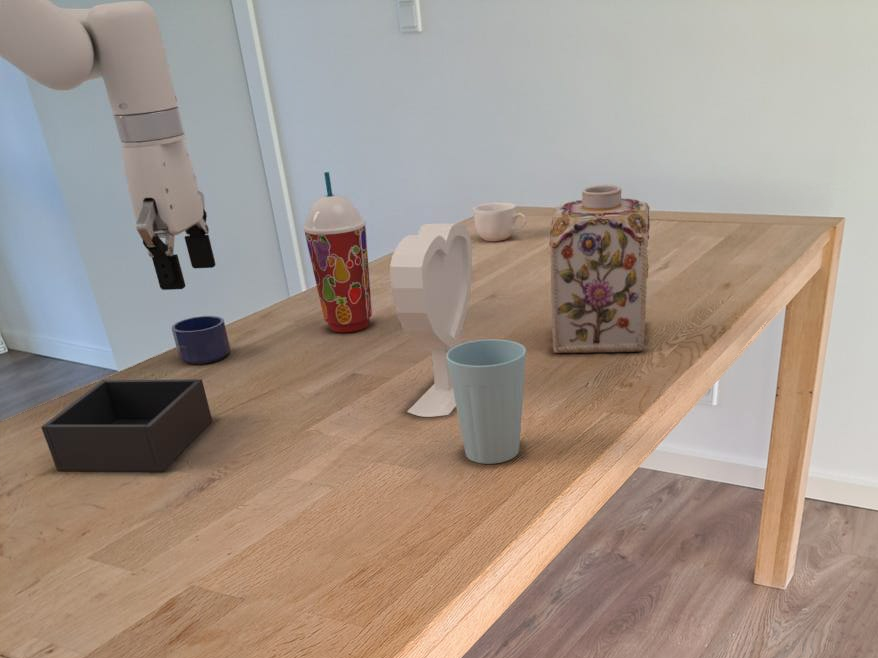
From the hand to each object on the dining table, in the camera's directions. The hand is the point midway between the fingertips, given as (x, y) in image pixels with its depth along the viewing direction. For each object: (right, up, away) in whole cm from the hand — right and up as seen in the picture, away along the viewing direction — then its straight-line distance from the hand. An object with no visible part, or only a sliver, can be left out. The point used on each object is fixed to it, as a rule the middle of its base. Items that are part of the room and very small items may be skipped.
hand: (189, 277), depth 119 cm
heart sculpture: (+34, -18, -11) cm, 40 cm away
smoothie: (+19, -2, +13) cm, 23 cm away
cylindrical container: (0, -8, +6) cm, 10 cm away
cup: (+39, -28, -25) cm, 54 cm away
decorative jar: (+53, -8, +1) cm, 54 cm away
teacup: (+42, +27, +50) cm, 70 cm away
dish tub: (0, -25, -17) cm, 31 cm away
